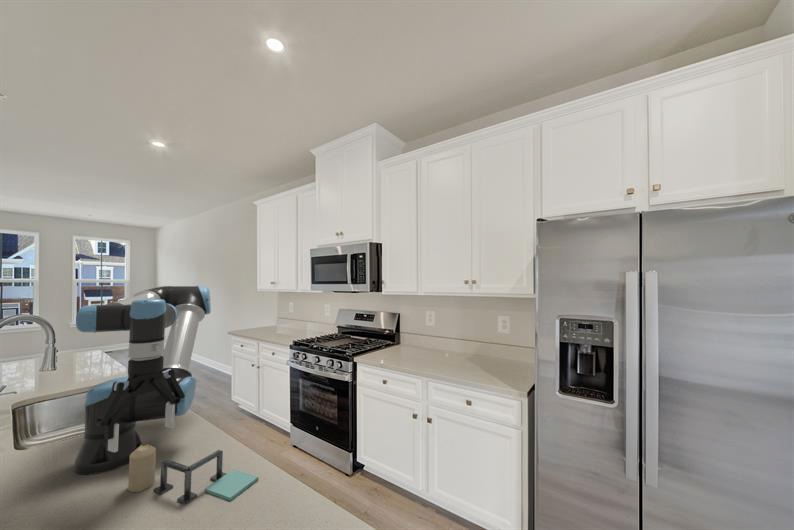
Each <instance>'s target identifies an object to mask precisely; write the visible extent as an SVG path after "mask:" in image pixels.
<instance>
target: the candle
mask: <svg viewBox="0 0 794 530" xmlns="http://www.w3.org/2000/svg"><path fill="white" fill-rule="evenodd" d="M156 457H157V448H156V447H154V445H153V446H152V445H151V444H145V445H143V444H142V445H141V446H139V447H138V448H137V449H136V450H135V451H133V452H132V453H131V454H130V459H129V463H128V464H129V465H128V485H127V486H128V491H129V492H130V493H131V492H132V493H138V492H142V491H145V490H147V489H149V488H150V487H152V486H153V485H154V484H155V481H156V463H157V462H156V459H157V458H156Z"/></svg>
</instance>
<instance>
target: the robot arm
mask: <svg viewBox="0 0 794 530" xmlns="http://www.w3.org/2000/svg"><path fill="white" fill-rule="evenodd" d="M210 295H211V293H210V289H209V288H208V287H207V286H205V285H204V286H202V285H201V286H200V285H195V286H189V285H187V286H186V285H185V286H184V285H183V286H182V285H177V286H175V285H171V286H170V285H166V286H165V285H163V286H158V287H153V288H149V289H144V290H141V291H138V292H136V293H135V294H134V295H133V296H130V297H127V298H124V299H121V300H117V301H114V302H111V303H107V304H91V305H84V306H81V307H80V308H79V309H78V311H77V313H76V315H75V325H76V328H77V330H78V331H79V332H82V333H94V334H95V333H105V332H123V331H124V332H126V331H127V332H129V339H128V358H129V360H128V361H127V375H128V376H122V377H117V378H112V379H109V380H106V381H104V382H101V383H98V384H96V385H94V386H92V387H91V388H90V389H89V390H88V391H87V392H86V396H85V397H86V399H85V403H84V408H85V411H84V413H85V414H84V434H83V435H84V437H83V440H82V441H83V442H82V444H81V446H80V448H79V451H78V453H77V456H76V458H75V460H74V472H75V473H77V474H81V475H91V474H92V475H93V474H99V473H105V472H108V471H112V470H115V469H118V468H120V467H123V466H125V465H127V464H129V459H130V454H131V453H132V452H133V451H135V450H136V449H137V448H138V447H139V446H141V445H143V443H142V440H141V438H140V435H139V433H138V430H137V427H136V426H137V422H144V421H152V420H153V421H154V420H160V419H164V427H165V428H168V429H174V428H175V417H179V416H183V415H185V414H186V413H188V411H189V410H190V408H191V406H192V403H193V402H194V398H195V391H196V387H197V382H196V381H197V380H196V378H195V377H193V374H192V372H191V371H190V370H189V369H190V364H191V360H192V355H193V349H194V346H195V341H196V337H197V334H198V333H197V332H198V328H199V324H200V322H201V321H203V319H204V318H205V316H206V315H209V314H210V313H211V310H212V309H211V304H212V303H211V296H210ZM169 327H170V329H169V332H168V336H167V339H166V343H165V330H166V329H167V328H169Z"/></svg>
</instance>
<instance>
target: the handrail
mask: <svg viewBox="0 0 794 530" xmlns="http://www.w3.org/2000/svg"><path fill="white" fill-rule="evenodd" d="M223 454H224V451H223V450H221V449H217V450H216V451H214V452H212V453H210V454H209V455H207V456H205V457H204V458H201V459H200V460H198V461H196V462H195V463H193V464H191V465H188V466H187V465H185V464H181V463H180V462H179V463H178V462H175V461H174V460H170V459H166V458H165V459H164V460H162V461H161V462H160V479H159V480H160V483H159V486H157V487H155V488H153V490H152V492H153V493H156V494H157V495H160V496H162V495H163V494H165V493H167V492H168V491H170V490H172V489H174V485H173V484H171V483H168V468H170V469H172V470H175V471H178V472H181V473H184V483H183V484H184V485H183V486H184V487H183V488H184V489H183V494H182V495H181V496H179V497H177V499H176V500H177V501H176V502H178V503H181V504H183V505H187V504H189V503H190V502H191V501H193V500H195V499H196V498H197V497H198V494H197V493H195V492H192V472H193V471H195V470H196V469H199V468H201V467H202V466H203V465H204V466H205V464H207V463H209V462H211V461H212V460H214V459H216V474H214V475H213V476H211V477H210V478H209V479H210V481H213V482H215V481H217V480H219V479H220V478H222V477H223V476H225V475H226V474H227V473H226V472H223V460H224V459H223V456H224V455H223Z"/></svg>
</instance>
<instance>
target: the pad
mask: <svg viewBox="0 0 794 530" xmlns="http://www.w3.org/2000/svg"><path fill="white" fill-rule="evenodd" d="M257 481H259V476H257V475H253V474H250V473H247V472H244V471H240V470H238V469H232V470H231V471H229V472H228V473H226V475H225V476H223V477H222V478H220V479H219V480H217V481H213V483H211V484H209V485H207V486H206V487H205V488H204V493H207V494H209V495H212V496H215V497H218V498H221V499H223V500H225V501H229V502H231V501H232V500H234V499H235V498H237V497H238V496H239V495H240V494H242V493H244V492H245V491H246V490H247V489H248V488H250V487H251V486H252V485H254V484H255V483H256V482H257Z"/></svg>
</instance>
